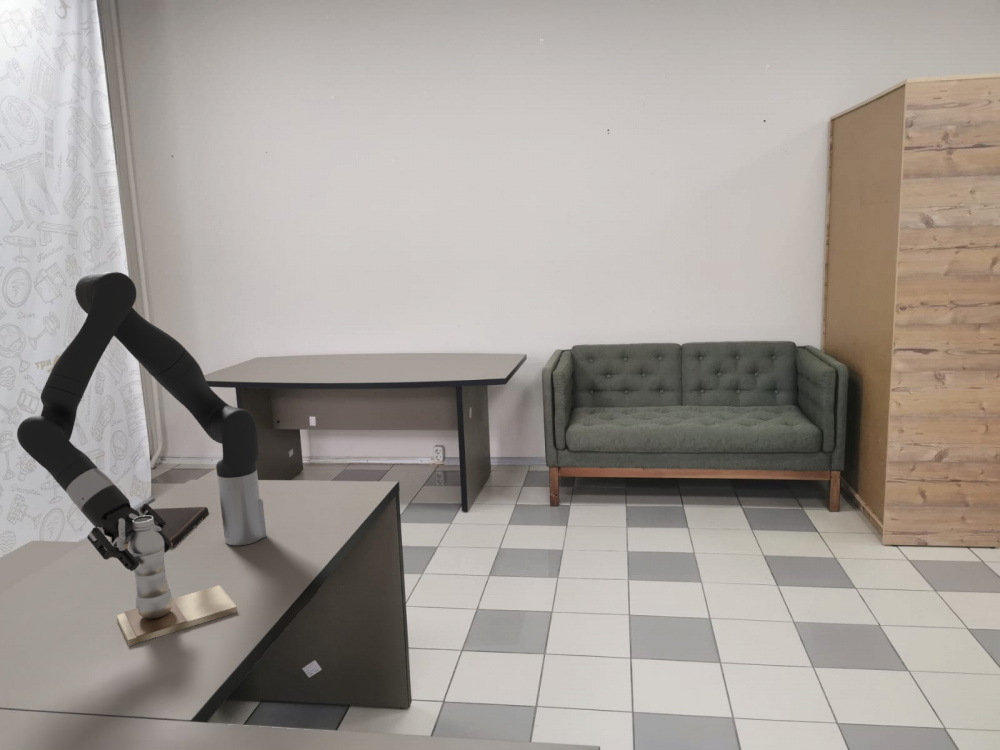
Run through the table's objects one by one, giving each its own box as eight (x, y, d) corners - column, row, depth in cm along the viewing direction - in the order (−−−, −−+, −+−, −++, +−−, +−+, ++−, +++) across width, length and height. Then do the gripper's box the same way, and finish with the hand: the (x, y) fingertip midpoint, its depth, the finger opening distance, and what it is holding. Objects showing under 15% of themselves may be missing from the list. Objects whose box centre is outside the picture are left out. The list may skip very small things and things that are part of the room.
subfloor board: (220, 590, 166) (219, 584, 165) (237, 611, 156) (236, 605, 156) (117, 620, 155) (116, 614, 154) (128, 645, 145) (127, 639, 145)
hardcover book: (108, 552, 190) (107, 543, 189) (150, 516, 212) (149, 508, 212) (174, 549, 190) (172, 540, 189) (208, 514, 212) (208, 506, 212)
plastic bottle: (161, 624, 149) (147, 526, 146) (130, 621, 151) (116, 524, 147) (181, 608, 156) (169, 513, 152) (151, 605, 157) (138, 511, 153)
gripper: (76, 498, 143) (133, 562, 142) (134, 473, 157) (188, 532, 155) (58, 522, 146) (115, 586, 145) (117, 496, 159) (169, 554, 158)
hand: (152, 558), depth 150 cm, fingers open, 8 cm apart
